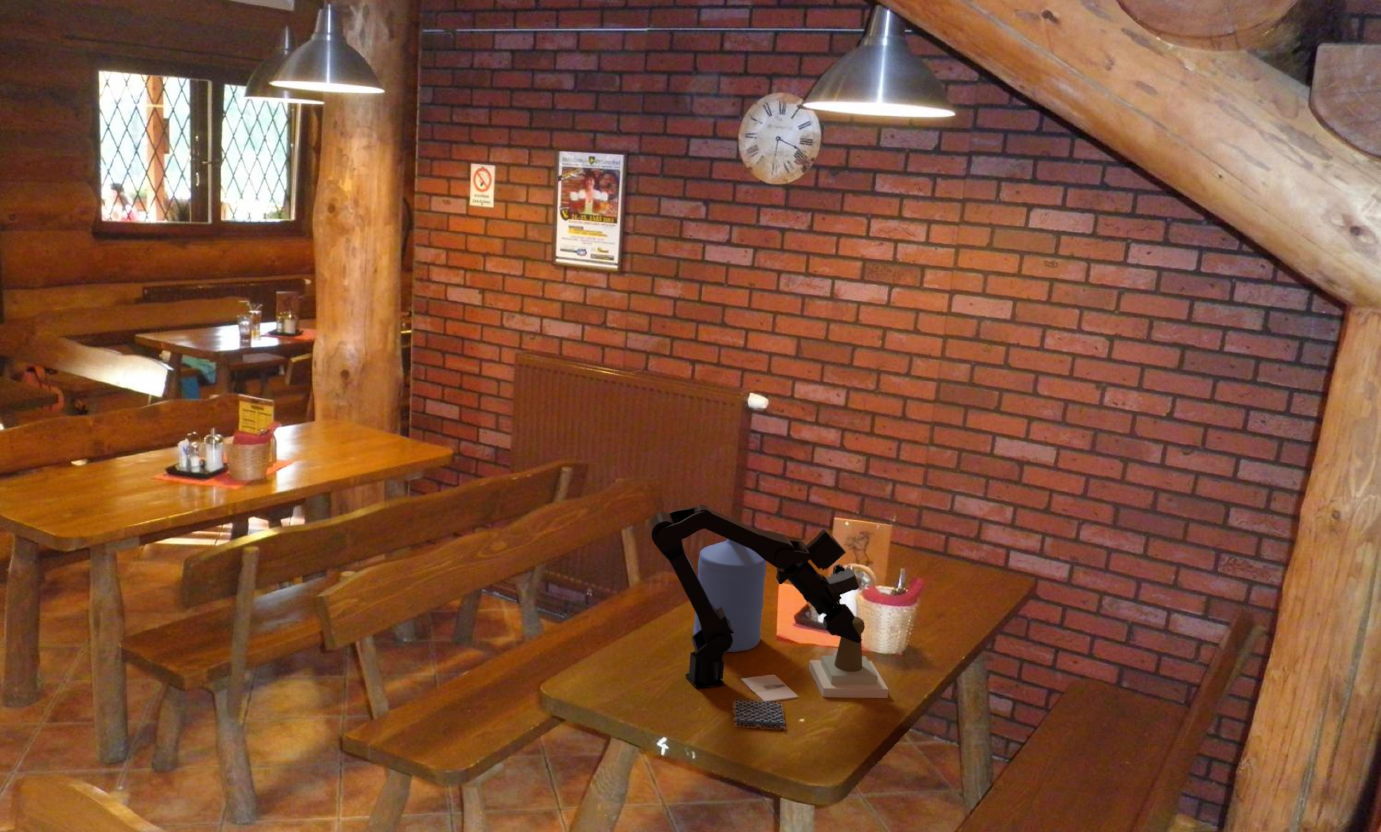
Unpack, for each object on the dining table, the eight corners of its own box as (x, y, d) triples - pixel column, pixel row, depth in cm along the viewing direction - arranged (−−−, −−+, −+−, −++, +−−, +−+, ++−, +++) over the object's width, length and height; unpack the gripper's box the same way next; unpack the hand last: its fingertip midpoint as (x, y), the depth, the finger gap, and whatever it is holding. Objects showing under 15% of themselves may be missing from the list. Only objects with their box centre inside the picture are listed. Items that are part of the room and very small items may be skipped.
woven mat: (782, 708, 242) (783, 699, 242) (786, 733, 232) (787, 724, 231) (731, 705, 242) (732, 696, 241) (733, 730, 232) (734, 721, 231)
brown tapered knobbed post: (867, 669, 253) (872, 621, 250) (843, 673, 250) (848, 624, 248) (852, 658, 258) (857, 611, 256) (829, 661, 256) (833, 614, 253)
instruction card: (762, 702, 243) (763, 700, 243) (740, 679, 253) (740, 678, 253) (798, 697, 246) (798, 696, 246) (774, 675, 256) (774, 673, 256)
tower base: (822, 696, 247) (824, 679, 247) (809, 668, 261) (810, 651, 260) (887, 697, 249) (889, 680, 248) (870, 669, 263) (872, 652, 262)
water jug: (772, 648, 270) (782, 532, 264) (711, 657, 263) (720, 538, 257) (740, 623, 284) (749, 512, 278) (681, 630, 277) (689, 517, 271)
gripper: (848, 573, 239) (895, 625, 243) (828, 543, 257) (872, 592, 261) (807, 609, 240) (854, 660, 244) (790, 576, 258) (834, 624, 262)
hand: (854, 632), depth 253 cm, fingers open, 9 cm apart
